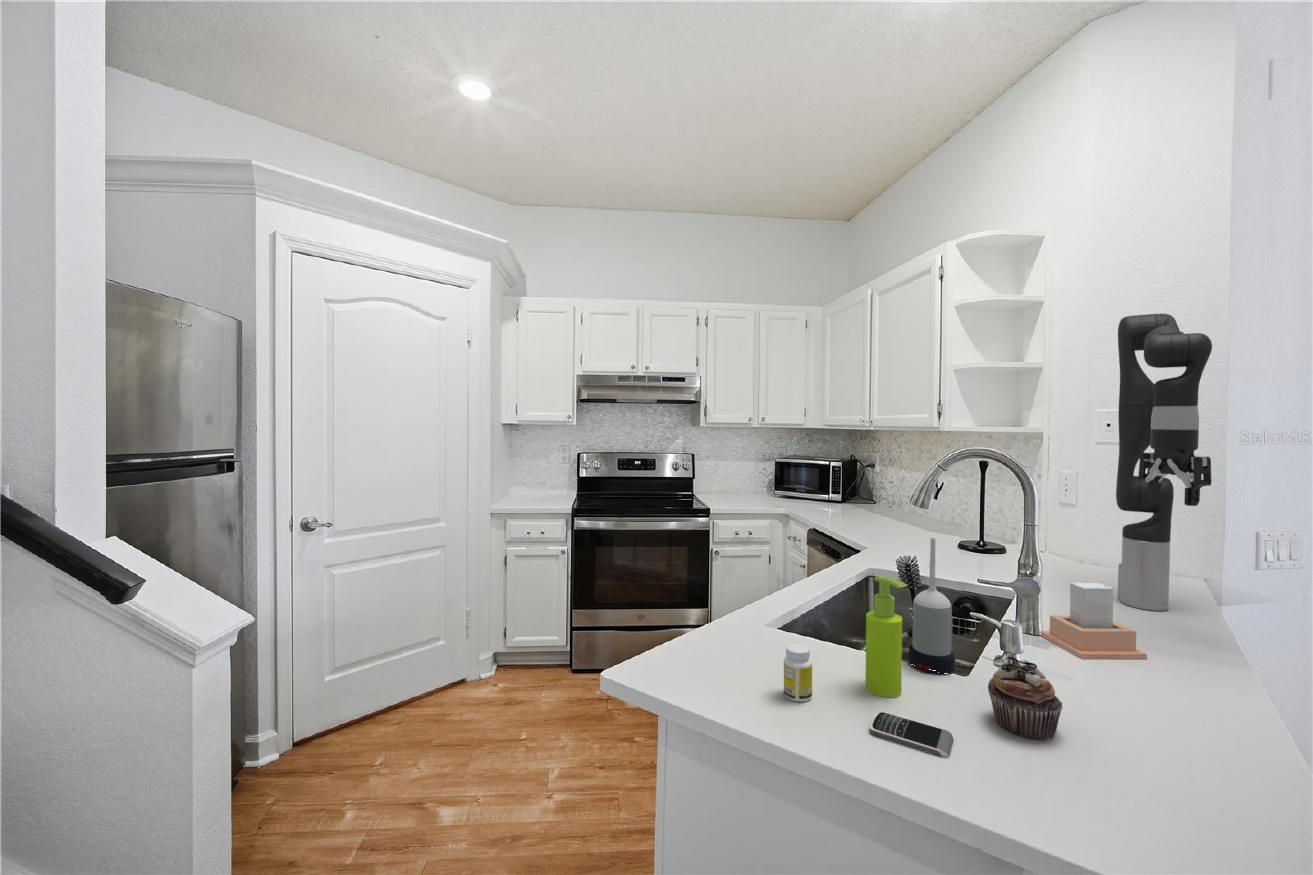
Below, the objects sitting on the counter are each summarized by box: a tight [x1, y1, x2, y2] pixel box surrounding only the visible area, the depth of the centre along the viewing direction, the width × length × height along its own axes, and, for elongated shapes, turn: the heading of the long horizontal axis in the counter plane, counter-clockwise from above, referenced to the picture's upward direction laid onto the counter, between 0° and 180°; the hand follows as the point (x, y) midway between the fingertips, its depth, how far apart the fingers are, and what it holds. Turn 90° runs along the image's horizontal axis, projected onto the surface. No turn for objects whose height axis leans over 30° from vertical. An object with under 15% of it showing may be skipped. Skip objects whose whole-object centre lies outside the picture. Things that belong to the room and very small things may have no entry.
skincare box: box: [1069, 582, 1114, 629], centre depth 116 cm, size 6×4×12 cm
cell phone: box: [869, 711, 955, 758], centre depth 83 cm, size 6×11×1 cm, turn 55°
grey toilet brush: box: [907, 537, 956, 676], centre depth 106 cm, size 8×8×25 cm
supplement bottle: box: [783, 643, 813, 703], centre depth 95 cm, size 5×5×8 cm
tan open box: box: [1039, 615, 1148, 660], centre depth 115 cm, size 12×13×5 cm
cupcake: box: [987, 656, 1063, 741], centre depth 86 cm, size 10×10×10 cm
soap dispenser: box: [864, 575, 908, 698], centre depth 96 cm, size 6×7×20 cm
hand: (1172, 502), depth 118 cm, fingers open, 8 cm apart
